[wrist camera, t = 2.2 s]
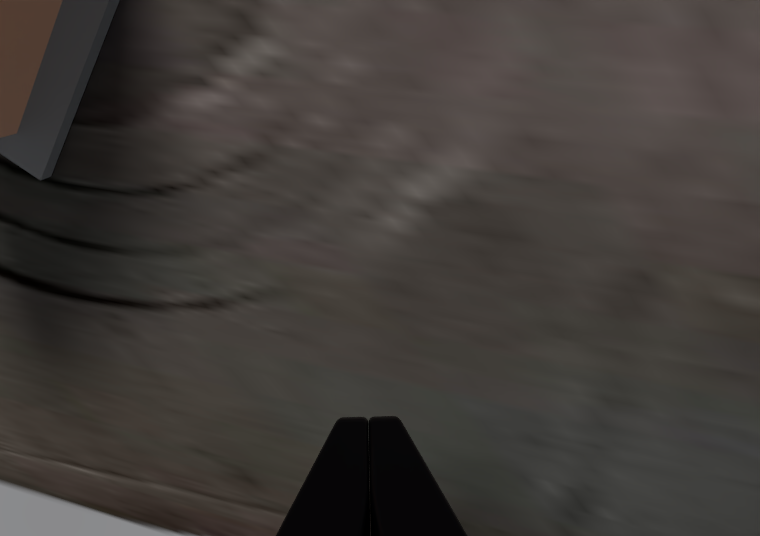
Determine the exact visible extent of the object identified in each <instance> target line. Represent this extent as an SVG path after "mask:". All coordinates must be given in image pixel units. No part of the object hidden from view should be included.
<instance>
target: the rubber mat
mask: <svg viewBox="0 0 760 536" xmlns="http://www.w3.org/2000/svg"><path fill="white" fill-rule="evenodd" d="M119 1H120V0H63V1H62V3H61V6H60V9H59V12H58V15H57V18H56V21H55V24H54V27H53V30H52V33H51V35H50V38H49V41H48V44H47V47H46V50H45V53H44V56H43V59H42V62H41V64H40V67H39V70H38V73H37V76H36V79H35V82H34V85H33V88H32V91H31V94H30V96H29V99H28V102H27V105H26V108H25V111H24V114H23V117H22V120H21V123H20V126H19V128H18V131H17V133H16V134H13V135H9V136H5V137H1V138H0V154H1V155H3V156H4V157H6V158H7V159H9V160H10V161H12V162H13V163H15V164H16V165H18V166H19V167H21V168H22V169H24V170H25V171H27V172H28V173H30V174H31V175H33V176H34V177H36V178H37V179H39V180H40V181H41V180H43V179H46V178H49V177H51V175H52V173H53V170H54V168H55V165H56V163H57V160H58V157H59V155H60V152H61V150H62V147H63V145H64V142H65V139H66V137H67V134H68V132H69V129H70V127H71V124H72V121H73V119H74V116H75V114H76V111H77V109H78V106H79V103H80V101H81V98H82V96H83V93H84V91H85V88H86V85H87V83H88V80H89V78H90V75H91V73H92V70H93V68H94V65H95V62H96V60H97V57H98V55H99V52H100V50H101V47H102V44H103V42H104V39H105V37H106V34H107V32H108V29H109V26H110V24H111V21H112V19H113V16H114V14H115V11H116V8H117V6H118V3H119Z"/></svg>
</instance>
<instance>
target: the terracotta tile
mask: <svg viewBox="0 0 760 536" xmlns="http://www.w3.org/2000/svg"><path fill="white" fill-rule="evenodd" d="M62 1H63V0H0V138H1V137H5V136H9V135H13V134H16V133H17V131H18V128H19V126H20V123H21V120H22V117H23V114H24V111H25V108H26V105H27V102H28V99H29V96H30V94H31V91H32V88H33V85H34V82H35V79H36V76H37V73H38V70H39V67H40V64H41V62H42V59H43V56H44V53H45V50H46V47H47V44H48V41H49V38H50V35H51V33H52V30H53V27H54V24H55V21H56V18H57V15H58V12H59V9H60V6H61V3H62Z"/></svg>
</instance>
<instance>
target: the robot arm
mask: <svg viewBox="0 0 760 536" xmlns="http://www.w3.org/2000/svg"><path fill="white" fill-rule="evenodd" d="M369 471H370V489H369ZM370 521H371V536H467V534H466V533H465V531H464V529H463V527H462V526H461V524H460V522H459V520H458V519H457V517H456V515H455V514H454V512H453V510H452V508H451V507H450V505H449V503H448V501H447V500H446V498H445V496H444V494H443V493H442V491H441V489H440V488H439V486H438V484H437V482H436V481H435V479H434V477H433V475H432V474H431V472H430V470H429V468H428V467H427V465H426V463H425V462H424V460H423V458H422V456H421V455H420V453H419V451H418V449H417V448H416V446H415V444H414V442H413V441H412V439H411V437H410V436H409V434H408V432H407V430H406V429H405V427H404V425H403V423H402V422H401V420H400V419H399V418H398V417H396V416H381V417H372V418H370V420H369V439H368V420H367V419H366V418H365V417H343V418H340V419H338V420H337V422H336V423H335V425H334V427H333V428H332V430H331V432H330V434H329V436H328V438H327V440H326V442H325V444H324V445H323V447H322V449H321V451H320V453H319V455H318V457H317V459H316V461H315V463H314V464H313V466H312V468H311V470H310V472H309V474H308V476H307V478H306V480H305V482H304V483H303V485H302V487H301V489H300V491H299V493H298V495H297V497H296V499H295V501H294V502H293V504H292V506H291V508H290V510H289V512H288V514H287V516H286V518H285V519H284V521H283V523H282V525H281V527H280V529H279V531H278V533H277V535H276V536H370Z"/></svg>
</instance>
